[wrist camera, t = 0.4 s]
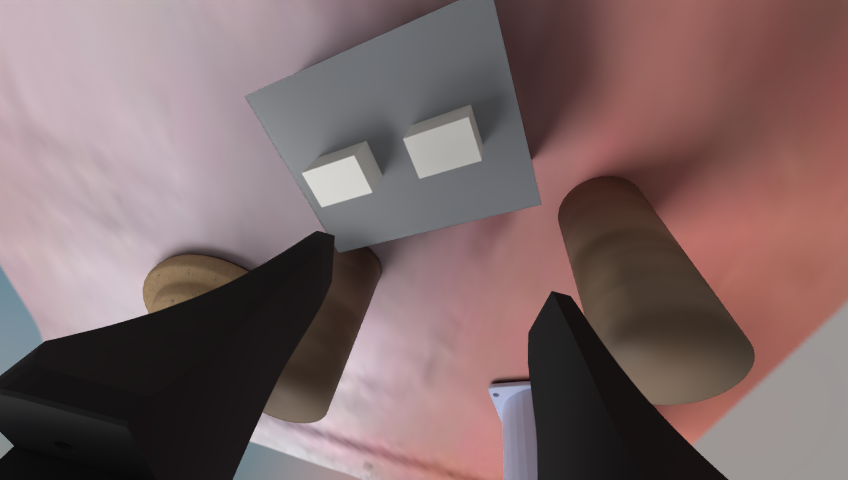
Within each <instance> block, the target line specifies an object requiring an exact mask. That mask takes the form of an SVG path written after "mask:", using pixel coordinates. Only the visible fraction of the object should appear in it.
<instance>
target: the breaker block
mask: <svg viewBox="0 0 848 480" xmlns="http://www.w3.org/2000/svg"><path fill="white" fill-rule="evenodd" d="M245 98H246V100H247V101H248V103H249V105H250V106H251V108H252V110H253V111H254V113H255V115H256V116H257V118H258V120H259V121H260V123H261V125H262V126H263V128H264V130H265V131H266V133H267V135H268V136H269V138H270V140H271V141H272V143H273V145H274V146H275V148H276V150H277V151H278V153H279V155H280V156H281V158H282V160H283V161H284V163H285V164H286V166H287V168H288V169H289V171H290V173H291V174H292V176H293V178H294V179H295V181H296V183H297V184H298V186H299V188H300V189H301V191H302V193H303V194H304V196H305V198H306V199H307V201H308V203H309V204H310V206H311V208H312V209H313V211H314V213H315V214H316V216H317V218H318V219H319V221H320V223H321V224H322V226H323V228H324V229H325V231H326V233H327V234H331V235H335V242H334V246H335V248H336V249H337V251H338V253H340V252H344V251H349V250H353V249H357V248H361V247H365V246H370V245H374V244H378V243H382V242H386V241H390V240H395V239H399V238H403V237H407V236H411V235H416V234H420V233H424V232H428V231H432V230H436V229H441V228H445V227H449V226H453V225H457V224H462V223H466V222H470V221H474V220H478V219H482V218H487V217H491V216H495V215H499V214H503V213H508V212H512V211H516V210H520V209H524V208H528V207H533V206H537V205H541V200H540V196H539V192H538V187H537V183H536V178H535V174H534V170H533V165H532V161H531V156H530V152H529V148H528V144H527V139H526V135H525V131H524V126H523V122H522V118H521V114H520V109H519V105H518V101H517V96H516V92H515V88H514V84H513V79H512V75H511V71H510V66H509V62H508V58H507V54H506V49H505V45H504V41H503V36H502V32H501V28H500V24H499V19H498V15H497V11H496V6H495V2H494V0H458V1H456V2H453V3H451V4H449V5H447V6H445V7H442V8H440V9H438V10H436V11H433V12H431V13H429V14H427V15H425V16H422V17H420V18H418V19H416V20H413V21H411V22H409V23H407V24H404V25H402V26H400V27H398V28H396V29H393V30H391V31H389V32H387V33H384V34H382V35H380V36H378V37H375V38H373V39H371V40H369V41H367V42H364V43H362V44H360V45H358V46H355V47H353V48H351V49H349V50H346V51H344V52H342V53H340V54H338V55H335V56H333V57H331V58H329V59H326V60H324V61H322V62H320V63H318V64H315V65H313V66H311V67H309V68H306V69H304V70H302V71H300V72H297V73H295V74H293V75H291V76H289V77H286V78H284V79H282V80H280V81H277V82H275V83H273V84H271V85H268V86H266V87H264V88H262V89H260V90H257V91H255V92H253V93H251V94H248V95H246V96H245Z"/></svg>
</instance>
